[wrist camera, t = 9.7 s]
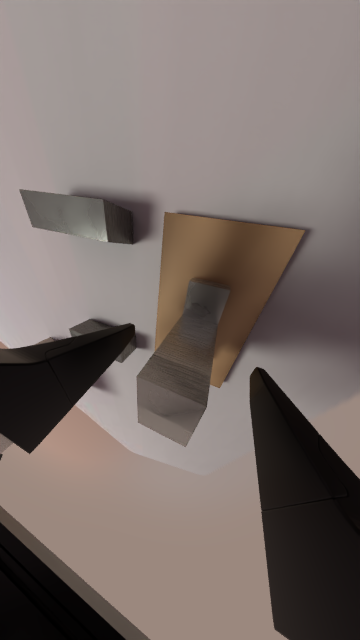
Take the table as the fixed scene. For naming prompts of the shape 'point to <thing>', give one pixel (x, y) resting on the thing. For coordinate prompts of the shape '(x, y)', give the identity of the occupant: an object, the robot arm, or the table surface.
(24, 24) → the table surface
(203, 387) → the grey flared bar
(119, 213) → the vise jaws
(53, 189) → the table surface
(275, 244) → the walnut pad
